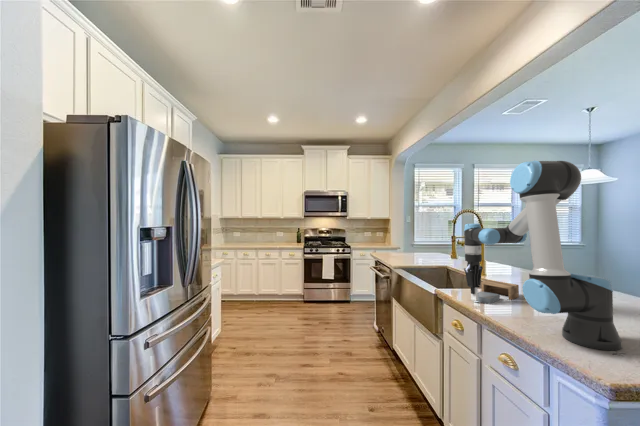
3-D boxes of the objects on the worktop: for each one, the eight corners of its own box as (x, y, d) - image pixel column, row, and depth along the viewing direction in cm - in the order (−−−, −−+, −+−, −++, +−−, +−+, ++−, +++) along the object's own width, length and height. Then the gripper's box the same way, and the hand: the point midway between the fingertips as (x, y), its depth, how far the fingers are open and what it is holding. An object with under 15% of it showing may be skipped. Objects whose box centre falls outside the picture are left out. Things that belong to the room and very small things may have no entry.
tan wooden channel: (511, 299, 149) (510, 287, 149) (481, 293, 162) (481, 281, 162) (518, 297, 153) (518, 284, 153) (489, 291, 166) (489, 279, 166)
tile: (489, 304, 143) (489, 298, 143) (471, 300, 150) (471, 295, 150) (499, 300, 150) (499, 294, 150) (481, 296, 157) (481, 291, 157)
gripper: (472, 255, 139) (474, 304, 138) (487, 253, 145) (489, 299, 145) (458, 254, 145) (459, 300, 145) (473, 251, 152) (474, 296, 152)
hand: (474, 299), depth 145 cm, fingers closed
